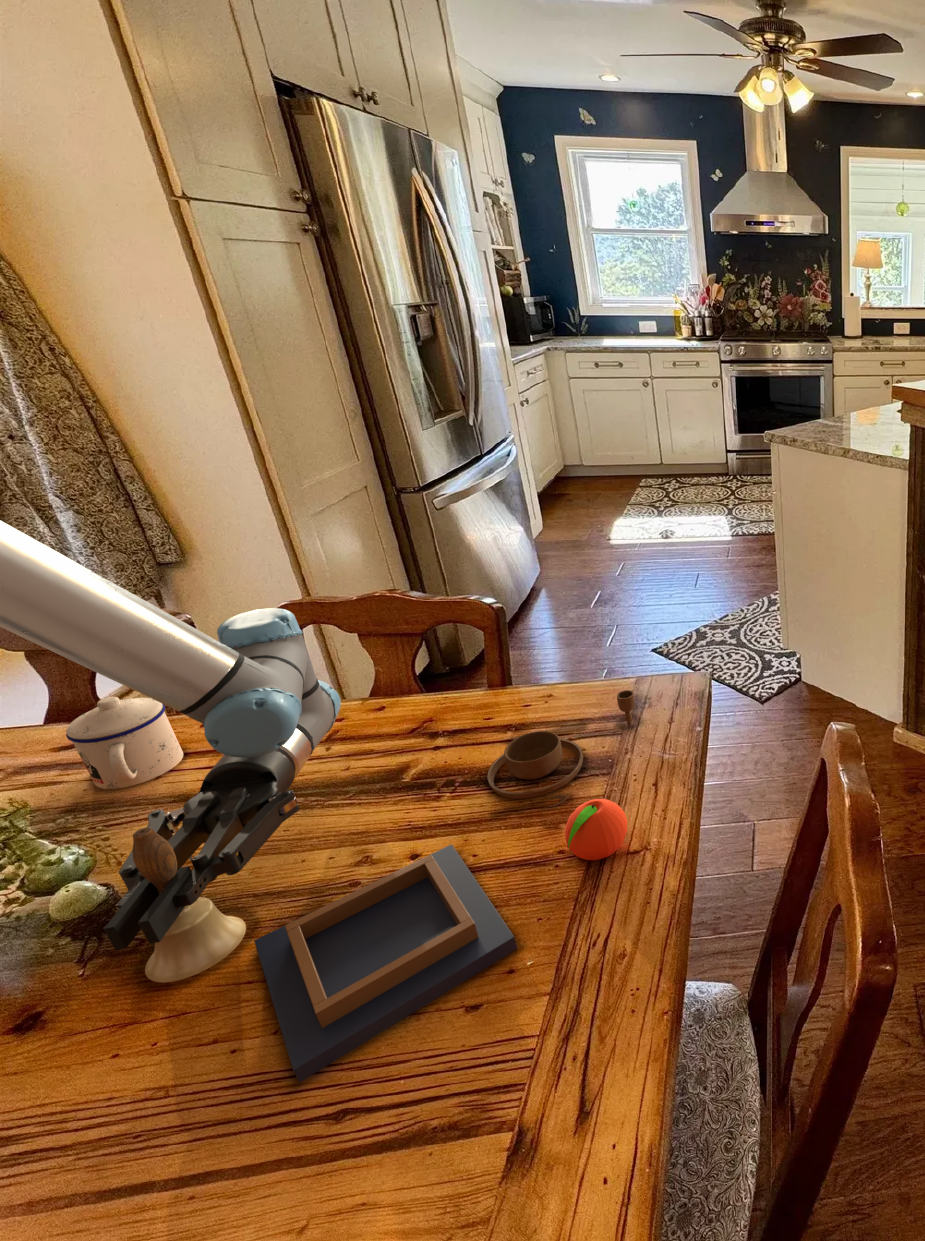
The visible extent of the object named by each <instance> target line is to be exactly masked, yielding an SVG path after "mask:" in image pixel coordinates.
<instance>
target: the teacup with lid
mask: <svg viewBox="0 0 925 1241" xmlns="http://www.w3.org/2000/svg"><path fill="white" fill-rule="evenodd" d="M165 711H166V705H164V704H162V703H160V702H158V701H156V700H154V699H152V698H149V697H134V698H133V697H132V698H127V699H120V698H119V697H117V696H107V697H103V698H101V699H100V700H98V701H97V703H96V707H95V708H92V709H91V710H89V711H87V712H85V713H82V714H81V715H79V716H78V717H76V718H75V719H73V720H72V721H71V722H70V724H68V726H67V728H66V731H65V736H66V738H67V740H69V741H70V742H72V744H73V746H74V748H75V749H76V752H77V753H78V756H79V757H80V759H81V761H82V763H83V765H84V767H85V768H86V770H87V772H88V774H89V776H90V778H91V780H92V781H93V784H94V785H95V786H96V787H97V788H99V789H104V790H115V789H122V788H123V789H124V788H127V787H131V786H136V785H139V784H143V783H146V782H148V781H150V780H153V779H155V778H157V777H160V776H162V775H163V774H166V773H168V772H169V771H170V770H172V769H173V768H175V767H176V766H177V765H178V764H179V763H180V762H181V761H182V760H183V758H184V751H183V749H182V747H181V745H180V742H179V740H178V739H177V736H176V734H175V732H174V730H173V727H172V725H171V723H170V720H169V719H168V716H167V714H166V712H165Z"/></svg>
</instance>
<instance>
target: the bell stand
mask: <svg viewBox="0 0 925 1241" xmlns="http://www.w3.org/2000/svg"><path fill="white" fill-rule="evenodd" d="M254 945H255V949H256V952H257V955H258V958H259V962H260V964H261V968H262V972H263V975H264V978H265V982H266V985H267V988H268V992H269V996H270V998H271V1002H272V1005H273V1008H274V1011H275V1015H276V1018H277V1021H278V1025H279V1028H280V1032H281V1035H282V1038H283V1042H284V1045H285V1048H286V1052H287V1055H288V1059H289V1061H290V1065H291V1068H292V1072H293V1073H294V1076H295V1077H296V1079H297V1081H298V1083H302V1082H303V1081H305V1080H306V1079H308V1078H310V1077H311V1076H313V1075H315V1074H316V1073H318V1072H320V1071H321V1070H323V1069H324V1068H326V1067H327V1066H329V1065H331V1064H332V1063H334V1062H336V1061H338V1060H339V1059H341V1058H343V1057H344V1056H345V1055H347V1054H349V1053H350V1052H352V1051H354V1050H355V1049H357V1048H358V1047H360V1046H361V1045H363V1044H365V1043H367V1042H369V1041H370V1040H371V1039H373V1038H375V1037H376V1036H378V1035H379V1034H381V1033H383V1032H384V1031H386V1030H388V1029H390V1028H391V1027H393V1026H395V1025H396V1024H398V1023H400V1022H401V1021H403V1020H404V1019H406V1018H407V1017H409V1016H410V1015H412V1014H414V1013H416V1012H418V1011H419V1010H421V1009H422V1008H424V1007H425V1006H427V1005H429V1004H430V1003H432V1002H433V1001H435V1000H437V999H438V998H440V997H441V996H443V995H445V994H447V993H448V992H450V991H451V990H453V989H454V988H456V987H457V986H459V985H461V984H462V983H464V982H466V981H467V980H469V979H471V978H472V977H475V976H476V975H477V974H479V973H480V972H482V971H484V970H485V969H487V968H488V967H490V966H492V965H494V964H495V963H496V962H498V961H500V960H501V959H503V958H505V957H506V956H508V955H510V954H511V953H513V952H515V951H516V950H518V946H517V941H516V938H515V936H514V934H513V932H512V931H511V930H510V928H509V926H508V925H507V924H506V922H505V921H504V919H503V918H502V916H501V915H500V913H499V912H498V910H497V909H496V908H495V905H494V904H493V903H492V901H491V900H490V899H489V896H488V895H487V894H486V892H485V891H484V890H483V888H482V886H481V885H480V883H478V880H476V878H475V875H473V873H472V872H471V871H470V869H469V867H468V866H467V865H466V863H465V861H464V860H463V859H462V857H461V856H460V854H459V852H458V851H457V850H456V848H455V847H454V845H453V844H451V843H450V844H448V845H447V846H445V847H442V848H441V849H439V850H437V851H434V852H433V853H430V854H428V855H427V856H424V857H422V858H420V859H418V860H416V861H414V862H412V863H410V864H408V865H406V866H403V867H402V868H399V869H397V870H396V871H393V872H391V873H389V874H387V875H385V876H383V877H381V878H379V879H377V880H375V881H373V882H370V883H369V884H367V885H365V886H362V887H361V888H359V889H356V890H354V891H352V892H351V893H348V894H346V895H344V896H342V897H340V898H338V899H336V900H334V901H332V902H330V903H328V904H326V905H324V906H322V907H320V908H318V909H315V910H313V911H312V912H309V913H307V914H305V915H303V916H301V917H299V918H297V919H295V920H292V921H291V922H289V923H287V924H285V925H282V926H281V927H278V928H277V929H275V930H272V931H270V932H268V933H266V934H264V935H263V936H262V935H261V936H260V937H258V938H256V939H254Z"/></svg>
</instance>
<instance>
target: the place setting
mask: <svg viewBox="0 0 925 1241" xmlns="http://www.w3.org/2000/svg"><path fill="white" fill-rule="evenodd" d="M616 701H617V706H618V709H619V711H621V712H622V713H624V714H625V716H624V721H625V722H626V724H627V725H631V724H632V723H633V722H632V720H633V716H632V714H631V713H632V711H633V710H634V708H635V705H636V702H635V694H634V691H633V690H629V689H624V690H622V691H619V692H618V693H617V694H616ZM504 748H505V749H504V751H503V754H501V755H500V756H498V758H496V759H495V761H494V762H493V763H492V764H491V765H490V767H489V769H488V772H487V782H488V785H489V787H490V789H491V790H493V792H495V793H496V794H497V795H499V796H501V797H503V798H507V799H515V800H517V799H518V800H523V799H525V800H526V799H533V798H537V797H540V796H541V797H542V796H544V795H547V794H550V793H553V792H554V791H557V790H559V789H560V788H562V787H564V786H566V785H567V784H568V783H570V782H571V781H572V780H574V778H575V777H576V776H577V775H578V774H579V772H581V771H580V770H581V768H582V766H583V763H584V753H583V750H582V748H581V747H580V746H579V745H578V744H577V743H576V742H574V741H572V740H569V739H566V738H561V737H559V735H558V734H556V733H554V732H551V731H547V730H541V731H540V730H539V731H532V732H528V733H525V734H522V735H519V736H518V737H516V738H514V739H512V740H511V741H510V742H509V743H508V744H507V745H506V746H505V747H504ZM563 748H566V749H568V750H571V751H572V752H574V753H575V754H576V756H577V757H578V763H577V765H576V767H575V768H574V769H573V770H572V771H571V772H570V773H569V774H568V775H567V776H565V777H564V778H563V779H560V780H559V781H557V782H556V783H553V784H551V785H548V786H546V787H543V788H539V789H535V790H531V791H523V792H521V791H520V792H519V791H518V792H516V791H515V792H514V791H508V790H504V789H501V788H499V787H497V786H496V785H495V777H496V774H497V772H498V770H499V769H500V768H501V767H502V766H503V765H504V764H506V767H507V769H508V771H509V773H510V774H511V775H512V776H514V777H516V778H518V779H521V780H529V781H531V780H532V781H533V780H539V779H542V778H544V777H546V776H548V775H549V774H551V773H552V772H554V771H555V769H557V768H558V766H559V765H560V763H561V761H562V759H563ZM552 799H559V800H560V802H557V803H556V804H553V805H550V806H549V805H548V808H553V807H557V806H559V805H562V804H564V803H565V802H566V801H567V800H568V796H567V795H555V796H552V797H549V798H547V799H545V800H544V802H546V801H549V800H552ZM540 807H543V808H545V806H543V805H541V806H539V808H540Z"/></svg>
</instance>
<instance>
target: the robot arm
mask: <svg viewBox="0 0 925 1241" xmlns="http://www.w3.org/2000/svg"><path fill="white" fill-rule="evenodd" d="M296 618H297V617H296V616H295V613H293V612H291V611H290V610H288V609H284V608H281V607H280V608H279V607H278V608H277V607H267V608H266V607H265V608H259V609H252V610H249V611H244V612H241V613H238V614H236V615H234V616H231V617H229V618H227V619H226V620H224V621H223V622H221V623H220V624H219V626H218V627H217V629H216V636H217V638H218V640H217V639H215V638H213V637H211V636H210V635H208V634H206V633H205V632H202V631H201V630H199V629H197V628H195V627H193V626H192V625H190V624H188V623H186V622H185V621H183V620H181V619H179V618H177V617H176V616H174V615H172V614H170V613H168V612H167V611H165V610H163V609H161V608H159V607H157V606H156V605H154V604H152V603H151V602H148V601H146V600H145V599H143V598H141V597H139V596H138V595H136V594H134V593H132V592H131V591H129V590H127V589H125V588H123V587H122V586H120V585H119V584H116V583H114V582H112V581H111V580H109V579H107V578H105V577H104V576H102V575H100V574H98V573H97V572H95V571H92V570H91V569H89V568H87V567H85V566H84V565H82V564H80V563H78V562H77V561H75V560H72V559H71V558H70V557H68V556H66V555H64V554H62V553H61V552H58V551H57V550H55V549H53V548H51V547H50V546H48V545H46V544H44V543H42V542H41V541H39V540H37V539H35V538H33V537H32V536H30V535H28V534H26V533H24V532H23V531H21V530H19V529H17V528H15V527H13V526H12V525H10V524H8V523H7V522H4V521H3V520H1V519H0V628H2V629H4V630H6V631H8V632H10V633H12V634H15V635H17V636H19V637H21V638H23V639H25V640H27V641H29V642H32V643H34V644H36V645H38V646H40V647H42V648H44V649H46V650H49V651H51V652H52V653H55V654H57V655H58V656H61V657H63V658H65V659H67V660H69V661H71V662H74V663H75V664H78V665H80V666H82V667H84V668H86V669H88V670H90V671H92V672H94V673H96V674H99V675H101V676H103V677H105V678H108V679H109V680H111V681H113V682H116V683H118V684H120V685H121V686H125V687H127V688H128V689H131V690H133V691H134V692H137V693H139V694H141V695H143V696H145V697H146V698H152V699H154V700H156V701H158V702H160V703H162V704H164V706H165V707H166V706H167V707H168V708H171V709H173V710H175V711H177V712H179V713H181V714H183V715H185V716H186V717H188V718H190V719H192V720H194V721H195V722H199V723H201V724H202V727H203V728H204V730H203V733H204V737H205V740H206V741H207V743H208V744H209V745H210V746H211V748H212V749H214V750H215V751H216V752H217V753H219V754H221V755H222V757H221V758H220V759H219V760H218V761H217V762H216V764H215V765H214V766H213V767H212V768H211V769H210V770H209V772H208V773H207V774H206V775H205V776H204V778H203V781H202V783H201V786H200V789H199V791H198V793H197V794H195V795H194V796H193V797H191V798H190V799H188V800H187V801H186V802H184V804H183V807H180V808H177V809H175V810H173V811H169V812H166V813H165V811H164V809H162V808H161V809H156V810H153V811H151V812H149V813H148V815H147V820H148V825H147V826H146V827H151V828H152V829H153V830H154V831H155V832H156V833H157V834H159V835H160V836H162V837H163V838H164V839H165V840H167V841H168V842H169V843H170V845H171V846H172V848H173V851H174V853H175V856H176V860H177V873H176V875H175V876H174V877H173V878H172V879H171V880H170V881H169V883H168V884H167V885H166V887H165V888H164V889H163V890H162V892H161V893H160V894H159V893H158V890H157V888H156V887H155V886H154V885H153V884H152V883H151V882H149V881H148V880H147V879H145V878H144V877H143V876H142V875H141V873H140V872H139V871H138V869H137V867H136V865H135V863H134V860H133V849H132V850H131V851H130V852H129V855H128V856H127V858H126V859H125V861H124V862H123V864H122V866H121V867H120V869H119V870H118V874H119V876H120V878H121V880H122V882H123V883H124V885H125V887H126V889H127V890H126V893H125V894H124V895H123V896H122V898H120V899H119V901H118V902H117V908H118V911H116V913H115V914H114V915H113V916H112V917H111V919H110V920H109V921H108V923H107V924H106V925H105V926H104V927H103V931H104V934H106V936H107V938H108V940H109V941H110V943H111V945H112V947H113V948H114V950H115V951H120V950H126V949H127V948H129V946H130V945H131V943H132V942H133V941H134V939H135V938H136V936H138V934H139V933H140V931H142V933H143V935H144V938H146V940H147V942H148V944H149V945H152V944H155V943H157V942H160V941H161V940H162V938H163V937H164V935H165V934H166V933H167V931H168V930H169V928H170V927H171V926H172V924H173V923H174V921H175V920H176V919H177V917H178V916H179V914H180V913H181V912H182V910H183V909H184V907H185V906H189V905H192V904H193V903H194V902H195V901H197V899H198V898H199V897H201V895H202V893H204V890H205V889H206V888H207V886H208V885H209V884H210V883H213V882H214V881H215V880H217V878H218V877H219V876H221V875H224V874H226V875H227V876H233V875H236V874H238V873H239V872H241V871H242V870H243V869H244V867H245V866H247V864H248V863H249V862H250V861H251V859H252V858H253V857H254V856H255V855H256V854H257V853H258V851H260V849H261V848H262V847H263V846H264V845H265V843H266V842H267V841H268V840H269V839H270V838H271V836H272V835H273V834H274V833H275V832H276V831H277V830H278V829H279V827H280V826H281V825H282V824H283V823H284V822H285V821H286V820H288V819H289V818H291V817H292V816H293V815H295V814H297V813H298V812H299V811H300V804H299V803H298V800H297V796H296V795H295V792H294V790H291V789H290V788H291V786H292V785H293V783H294V781H295V779H296V778H297V777H298V775H299V774H300V772H301V771H302V769H303V768H304V766H305V765H306V763H307V762H308V761H309V759H310V757H311V756H312V754H313V753H314V751H315V749H316V748H317V747H318V745H319V744H320V742H321V741H322V740H323V738H324V737H325V736H326V735H327V734H328V733H329V732H330V730H332V728H333V727H334V724H335V722H336V719H337V717H338V715H339V713H340V710H341V708H342V706H341V705H342V702H341V700H342V699H341V696H340V695H339V693H338V691H337V690H336V689H334V688H333V687H331V685H330V684H329V683H327V682H325V681H323V680H320V679H318V678H317V675H316V673H315V669H314V666H313V663H312V660H311V657H310V654H309V650H308V647H307V645H306V642H305V638H304V635H303V634H304V631H303V630H302V629H301V628H300V625H299V623H298V621H297V619H296ZM180 825H181V827H180V828H179V826H180ZM203 844H204V845H203ZM201 845H203V846H202V848H201V849H200V850H199V852H198V854H197V855H194V853H195V852H196V851H197V850H198V849H199V848H200V847H201ZM193 855H194V856H193ZM192 856H193V857H192ZM189 860H190V862H191V864H192V866H193V868H192V869H191V867H190V866H184V865H185V864H186V863H187V862H188V861H189Z"/></svg>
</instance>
